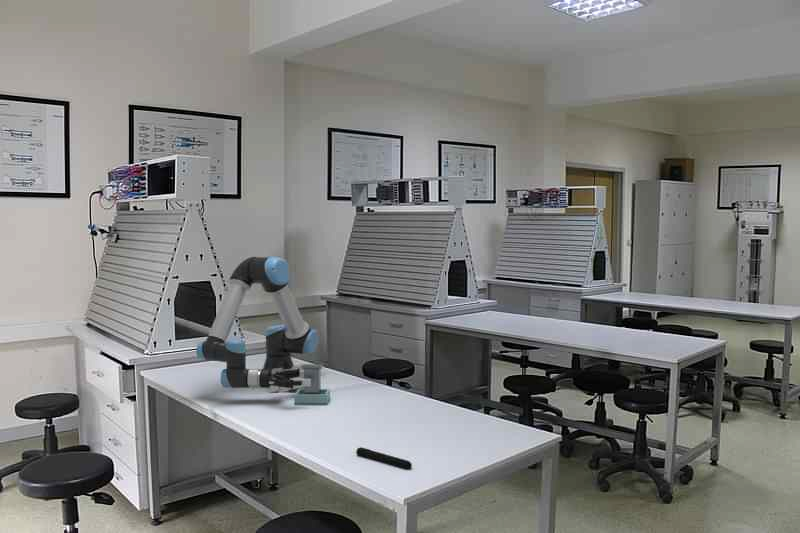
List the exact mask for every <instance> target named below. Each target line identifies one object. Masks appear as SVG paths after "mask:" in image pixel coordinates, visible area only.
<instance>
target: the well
mask: <svg viewBox="0 0 800 533" xmlns="http://www.w3.org/2000/svg"><path fill="white" fill-rule="evenodd" d="M293 397H294V400H293V401H294V406H328V404H329V402H330V399H331V389H330V388H321V394H304V388H297V390H296V392H295V394H294V396H293Z"/></svg>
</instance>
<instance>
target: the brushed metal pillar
mask: <svg viewBox="0 0 800 533" xmlns="http://www.w3.org/2000/svg"><path fill="white" fill-rule="evenodd" d="M301 365H302V366H301V369H304V379H311V386H303V389H304V394H321V389H322V388H321V386H322V385H321V370H322V369H323V367H324V365H323V364H322V363H320V364H319V363H317V364H316V363H315V364H314V363H312V364H311V363H308V364H307V363H306V364H304V363H303V364H301Z"/></svg>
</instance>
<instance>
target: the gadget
mask: <svg viewBox="0 0 800 533" xmlns="http://www.w3.org/2000/svg"><path fill="white" fill-rule="evenodd" d="M355 452H356V453H355V454H356V455H357V456H359V457H362V458H365V459H369V460H372V461H377V462H380V463H383V464H386V465H390V466H394V467H398V468H401V469H404V470H410V469H411V468H412V462H411V461H409V460H407V459H403V458H400V457H395V456H393V455H389V454H386V453H381V452H378V451H375V450H371V449H370V448H365V447H361V446H360V447H358V448H357V449H356V451H355Z"/></svg>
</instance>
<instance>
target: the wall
mask: <svg viewBox="0 0 800 533" xmlns="http://www.w3.org/2000/svg"><path fill="white" fill-rule="evenodd" d="M302 365H303V364H301V365H300V364H297V365H294V366H292V368H290V369H283V368H275V369H272V371H271V373H272V374H275V373H276V371H288V370H297V369H300V371H304V369H301V366H302ZM290 379H291V380H293V381H294V379H304V378H300V377H295V378H290ZM295 389H304V386H294V385H293V389H291V388H286V387H279V386H270V387H269V388H266V390H265V391H266V392H265V393H268V394H269V393H275V392H278V393H284V392H289V391H290V390H295Z"/></svg>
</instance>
